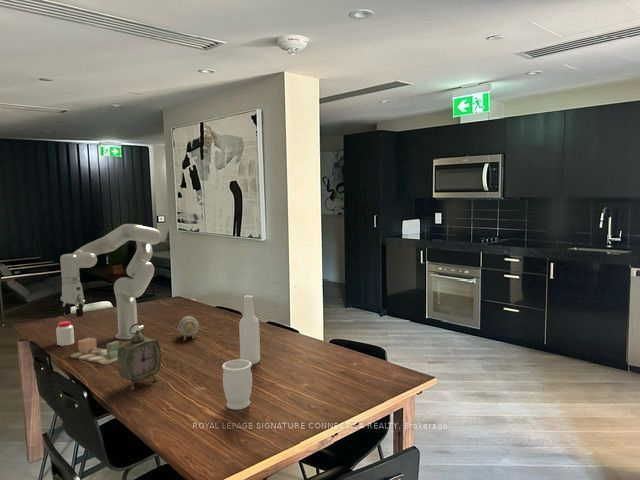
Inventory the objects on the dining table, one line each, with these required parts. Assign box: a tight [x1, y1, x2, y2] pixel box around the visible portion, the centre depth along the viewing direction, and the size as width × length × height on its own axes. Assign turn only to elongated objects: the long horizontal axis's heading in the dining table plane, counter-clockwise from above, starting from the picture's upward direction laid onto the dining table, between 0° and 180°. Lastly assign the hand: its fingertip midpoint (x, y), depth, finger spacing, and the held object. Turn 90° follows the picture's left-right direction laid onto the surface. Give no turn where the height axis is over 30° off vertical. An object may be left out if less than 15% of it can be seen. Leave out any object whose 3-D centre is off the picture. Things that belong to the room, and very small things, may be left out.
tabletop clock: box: [116, 322, 162, 391], centre depth 185 cm, size 14×9×25 cm, turn 148°
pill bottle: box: [55, 320, 75, 347], centre depth 238 cm, size 8×8×11 cm
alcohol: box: [238, 294, 261, 366], centre depth 207 cm, size 9×9×30 cm
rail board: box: [70, 340, 121, 366], centre depth 218 cm, size 24×12×8 cm, turn 63°
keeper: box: [77, 336, 98, 354], centre depth 222 cm, size 5×6×6 cm
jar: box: [221, 359, 253, 411], centre depth 166 cm, size 11×10×15 cm
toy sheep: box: [177, 315, 200, 341], centre depth 246 cm, size 11×17×11 cm, turn 23°
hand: (73, 315), depth 224 cm, fingers open, 8 cm apart
